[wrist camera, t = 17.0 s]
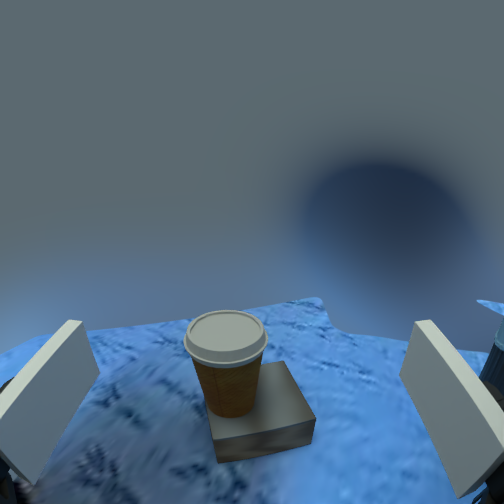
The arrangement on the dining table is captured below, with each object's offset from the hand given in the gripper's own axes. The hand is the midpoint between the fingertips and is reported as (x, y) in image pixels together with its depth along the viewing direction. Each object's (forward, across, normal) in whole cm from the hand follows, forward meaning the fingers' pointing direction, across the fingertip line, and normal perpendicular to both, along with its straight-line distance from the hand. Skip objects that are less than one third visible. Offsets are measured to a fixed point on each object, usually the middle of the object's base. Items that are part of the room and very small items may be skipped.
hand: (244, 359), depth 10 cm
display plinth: (+20, -1, -29) cm, 36 cm away
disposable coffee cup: (+19, -4, -23) cm, 30 cm away
